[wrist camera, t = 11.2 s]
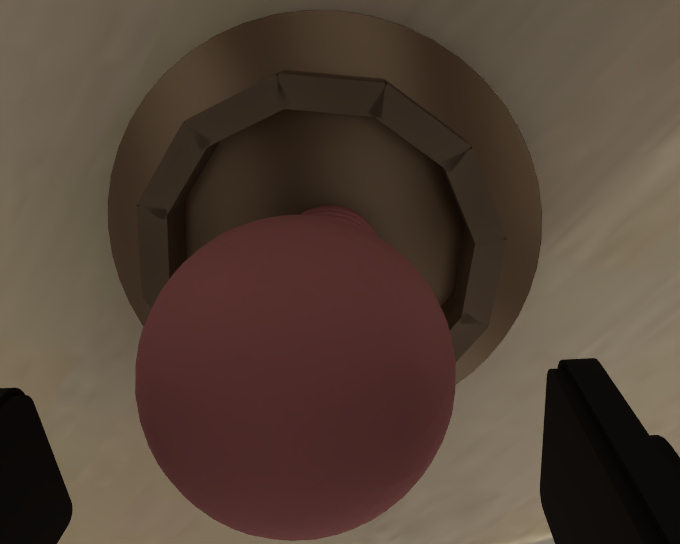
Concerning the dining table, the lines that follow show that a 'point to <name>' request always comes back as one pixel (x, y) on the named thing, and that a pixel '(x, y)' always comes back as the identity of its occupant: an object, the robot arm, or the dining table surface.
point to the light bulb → (296, 376)
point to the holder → (334, 161)
